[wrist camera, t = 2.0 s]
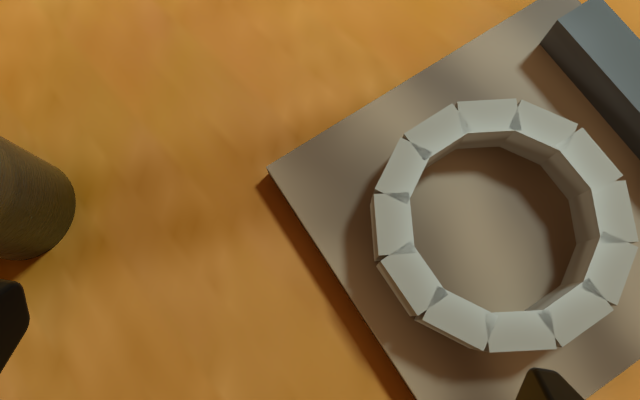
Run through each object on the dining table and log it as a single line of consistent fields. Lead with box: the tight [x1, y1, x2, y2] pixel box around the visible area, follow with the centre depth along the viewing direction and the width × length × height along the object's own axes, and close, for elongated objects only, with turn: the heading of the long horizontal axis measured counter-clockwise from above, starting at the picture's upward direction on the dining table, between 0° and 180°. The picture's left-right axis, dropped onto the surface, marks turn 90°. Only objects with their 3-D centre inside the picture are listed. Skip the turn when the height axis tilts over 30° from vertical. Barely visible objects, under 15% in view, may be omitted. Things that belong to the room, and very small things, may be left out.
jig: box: [266, 0, 640, 400], centre depth 22 cm, size 18×16×3 cm
